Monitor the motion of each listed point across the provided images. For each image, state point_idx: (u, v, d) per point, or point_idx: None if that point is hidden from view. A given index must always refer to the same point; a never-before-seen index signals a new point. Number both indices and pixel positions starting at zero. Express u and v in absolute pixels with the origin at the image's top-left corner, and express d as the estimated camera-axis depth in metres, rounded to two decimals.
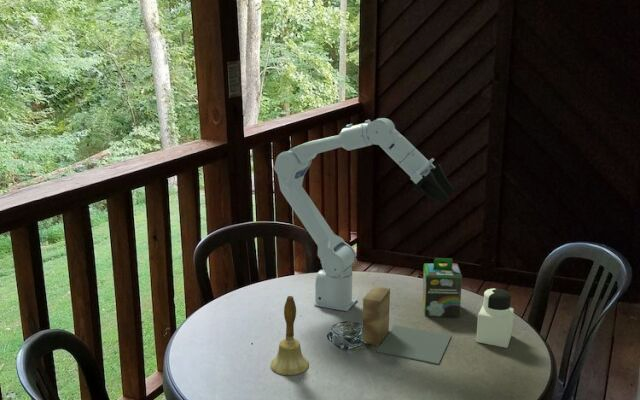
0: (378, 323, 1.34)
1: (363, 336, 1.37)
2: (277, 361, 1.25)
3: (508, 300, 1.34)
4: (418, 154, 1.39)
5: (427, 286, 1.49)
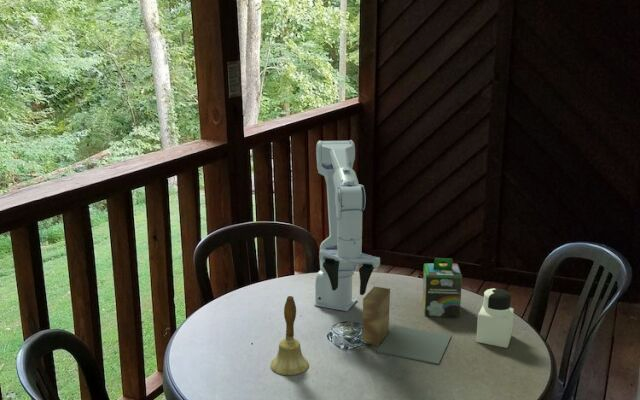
0: (378, 323, 1.34)
1: (363, 336, 1.37)
2: (277, 361, 1.25)
3: (508, 300, 1.34)
4: (341, 245, 1.35)
5: (427, 286, 1.49)
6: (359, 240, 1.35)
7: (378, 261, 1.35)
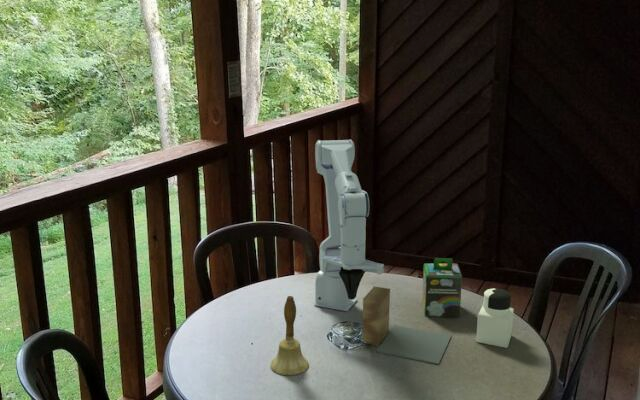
0: (378, 323, 1.34)
1: (363, 336, 1.37)
2: (277, 361, 1.25)
3: (508, 300, 1.34)
4: (344, 252, 1.35)
5: (427, 286, 1.49)
6: (363, 247, 1.35)
7: (382, 268, 1.35)
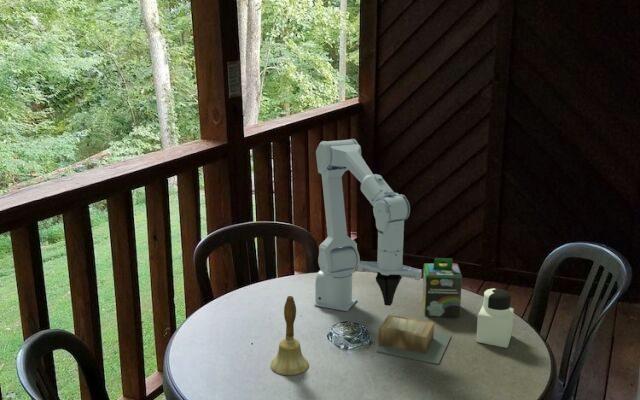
0: (401, 348, 1.33)
1: (385, 330, 1.34)
2: (277, 361, 1.25)
3: (508, 300, 1.34)
4: (382, 257, 1.32)
5: (427, 286, 1.49)
6: (400, 252, 1.32)
7: (420, 273, 1.32)
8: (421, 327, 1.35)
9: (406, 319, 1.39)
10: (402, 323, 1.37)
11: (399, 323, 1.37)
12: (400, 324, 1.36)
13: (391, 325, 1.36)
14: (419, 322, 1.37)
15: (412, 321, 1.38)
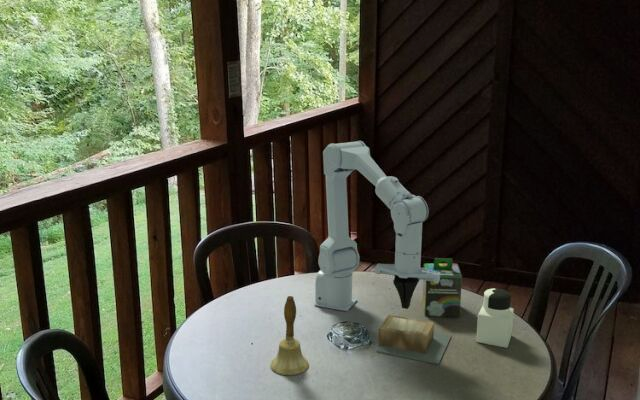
0: (401, 348, 1.33)
1: (385, 330, 1.34)
2: (277, 361, 1.25)
3: (508, 300, 1.34)
4: (400, 260, 1.30)
5: (427, 286, 1.49)
6: (419, 254, 1.30)
7: (438, 276, 1.30)
8: (421, 327, 1.35)
9: (406, 319, 1.39)
10: (402, 323, 1.37)
11: (399, 323, 1.37)
12: (400, 324, 1.36)
13: (391, 325, 1.36)
14: (419, 322, 1.37)
15: (412, 321, 1.38)
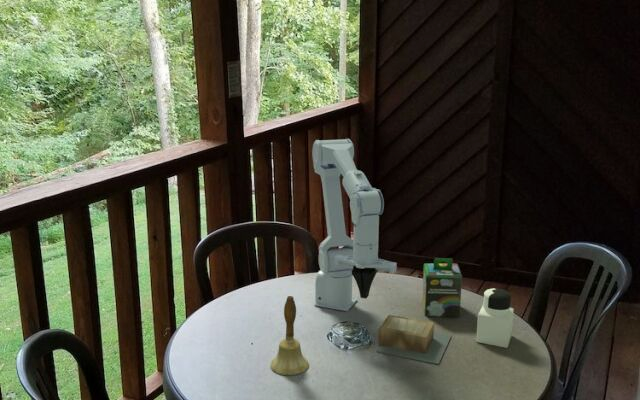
0: (401, 348, 1.33)
1: (385, 330, 1.34)
2: (277, 361, 1.25)
3: (508, 300, 1.34)
4: (357, 251, 1.34)
5: (427, 286, 1.49)
6: (376, 245, 1.34)
7: (395, 266, 1.34)
8: (421, 327, 1.35)
9: (406, 319, 1.39)
10: (402, 323, 1.37)
11: (399, 323, 1.37)
12: (400, 324, 1.36)
13: (391, 325, 1.36)
14: (419, 322, 1.37)
15: (412, 321, 1.38)
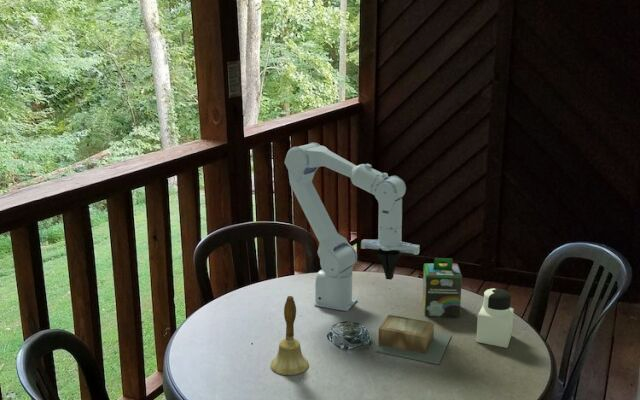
0: (401, 348, 1.33)
1: (385, 330, 1.34)
2: (277, 361, 1.25)
3: (508, 300, 1.34)
4: (382, 234, 1.43)
5: (427, 286, 1.49)
6: (399, 229, 1.43)
7: (418, 248, 1.43)
8: (421, 327, 1.35)
9: (406, 319, 1.39)
10: (402, 323, 1.37)
11: (399, 323, 1.37)
12: (400, 324, 1.36)
13: (391, 325, 1.36)
14: (419, 322, 1.37)
15: (412, 321, 1.38)
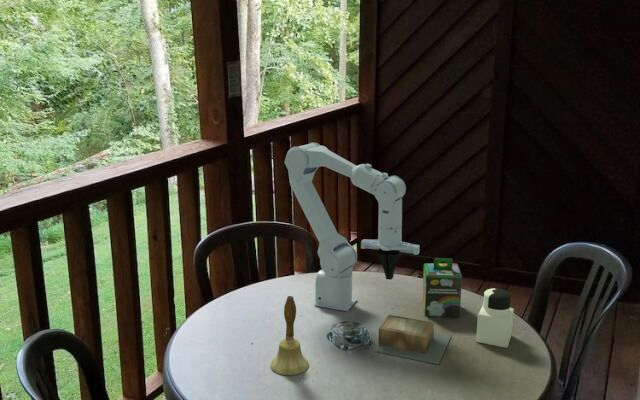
0: (401, 348, 1.33)
1: (385, 330, 1.34)
2: (277, 361, 1.25)
3: (508, 300, 1.34)
4: (382, 234, 1.43)
5: (427, 286, 1.49)
6: (399, 229, 1.43)
7: (418, 248, 1.43)
8: (421, 327, 1.35)
9: (406, 319, 1.39)
10: (402, 323, 1.37)
11: (399, 323, 1.37)
12: (400, 324, 1.36)
13: (391, 325, 1.36)
14: (419, 322, 1.37)
15: (412, 321, 1.38)
